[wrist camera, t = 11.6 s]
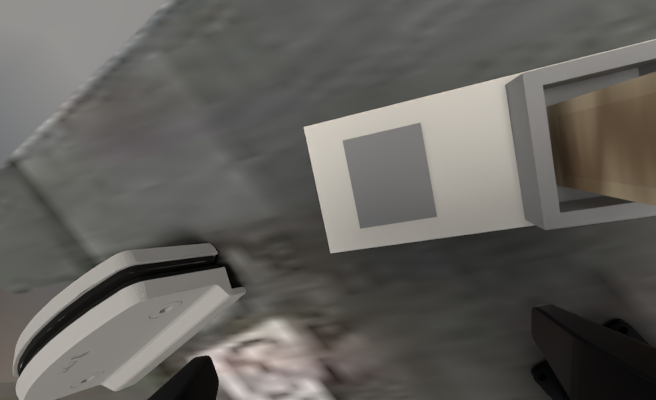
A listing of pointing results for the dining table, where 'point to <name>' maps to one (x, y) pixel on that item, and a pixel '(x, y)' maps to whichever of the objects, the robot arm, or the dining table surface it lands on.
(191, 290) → the white plastic device
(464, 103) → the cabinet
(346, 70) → the dining table surface
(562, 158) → the tan rectangular block
